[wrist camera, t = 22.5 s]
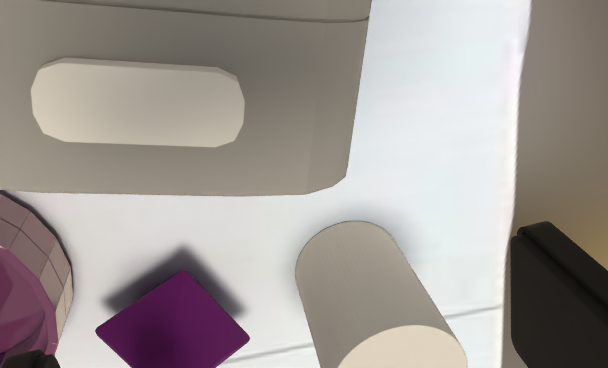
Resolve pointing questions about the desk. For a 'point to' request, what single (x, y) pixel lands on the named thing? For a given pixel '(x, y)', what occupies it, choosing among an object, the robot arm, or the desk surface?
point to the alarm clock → (178, 95)
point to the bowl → (30, 283)
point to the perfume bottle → (174, 328)
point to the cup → (370, 303)
